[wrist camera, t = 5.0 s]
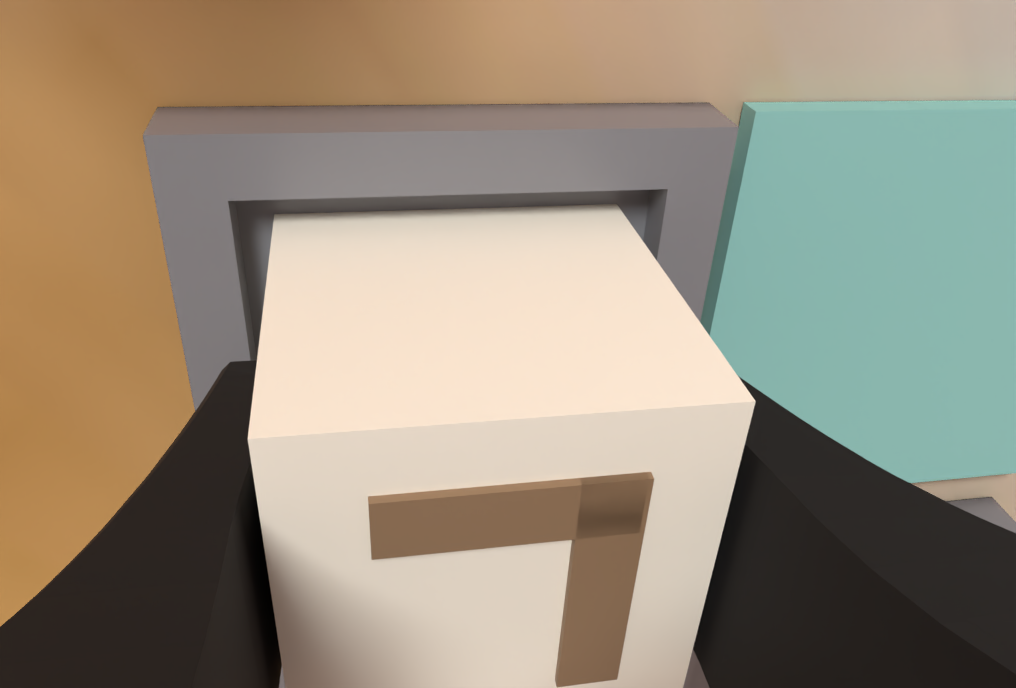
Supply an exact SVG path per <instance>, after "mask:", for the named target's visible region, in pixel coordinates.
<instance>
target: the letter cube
mask: <svg viewBox="0 0 1016 688" xmlns="http://www.w3.org/2000/svg"><path fill="white" fill-rule="evenodd" d="M755 402H756V401H755V400H754V398H753V397H752V395H751V394H750V393H749V391H748V390H747V388H746V387H745V385H744V384H743V383H742V381H741V380H740V378H739V377H738V375H737V374H736V373H735V371H734V370H733V368H732V367H731V366H730V364H729V363H728V361H727V360H726V358H725V357H724V356H723V354H722V353H721V351H720V350H719V349H718V347H717V346H716V344H715V343H714V341H713V340H712V339H711V337H710V336H709V334H708V333H707V331H706V330H705V329H704V327H703V326H702V324H701V323H700V322H699V320H698V319H697V317H696V316H695V314H694V313H693V312H692V310H691V309H690V307H689V306H688V304H687V303H686V302H685V300H684V299H683V297H682V296H681V295H680V293H679V292H678V290H677V289H676V287H675V286H674V285H673V283H672V282H671V280H670V279H669V277H668V276H667V275H666V273H665V272H664V270H663V269H662V268H661V266H660V265H659V263H658V262H657V260H656V259H655V258H654V256H653V255H652V253H651V252H650V251H649V249H648V248H647V246H646V245H645V243H644V242H643V241H642V239H641V238H640V236H639V235H638V233H637V232H636V231H635V229H634V228H633V226H632V225H631V224H630V222H629V221H628V219H627V218H626V216H625V215H624V214H623V212H622V211H621V209H620V208H619V206H618V205H617V204H602V205H568V206H535V207H501V208H467V209H434V210H400V211H366V212H333V213H299V214H274V221H273V229H272V238H271V246H270V255H269V263H268V272H267V280H266V288H265V297H264V305H263V314H262V322H261V331H260V339H259V347H258V356H257V364H256V373H255V381H254V390H253V398H252V406H251V415H250V423H249V432H248V445H249V451H250V458H251V465H252V471H253V478H254V484H255V491H256V497H257V504H258V511H259V517H260V524H261V530H262V537H263V544H264V550H265V557H266V563H267V570H268V576H269V583H270V590H271V596H272V603H273V609H274V616H275V622H276V629H277V636H278V642H279V649H280V655H281V662H282V669H283V675H284V682H285V688H683V686H684V682H685V678H686V674H687V670H688V666H689V662H690V658H691V654H692V650H693V646H694V642H695V639H696V635H697V631H698V627H699V623H700V619H701V615H702V611H703V607H704V603H705V599H706V595H707V591H708V587H709V583H710V579H711V576H712V572H713V568H714V564H715V560H716V556H717V552H718V548H719V544H720V540H721V536H722V532H723V528H724V524H725V520H726V516H727V513H728V509H729V505H730V501H731V497H732V493H733V489H734V485H735V481H736V477H737V473H738V469H739V465H740V461H741V457H742V453H743V449H744V446H745V442H746V438H747V434H748V430H749V426H750V422H751V418H752V414H753V410H754V406H755Z"/></svg>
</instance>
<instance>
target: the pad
mask: <svg viewBox="0 0 1016 688" xmlns="http://www.w3.org/2000/svg"><path fill="white" fill-rule="evenodd" d="M700 323H701V324H702V326H703V327H704V329H705V330H706V331H707V333H708V334H709V336H710V337H711V339H712V340H713V341H714V343H715V344H716V346H717V347H718V349H719V350H720V351H721V353H722V354H723V356H724V357H725V358H726V360H727V361H728V363H729V364H730V366H731V367H732V368H733V370H734V371H735V373H736V374H737V375H738V376H739V377H741V378H742V379H743V380H745V381H746V382H748V383H749V384H750V385H752V386H753V387H755V388H756V389H758V390H759V391H761V392H762V393H763V394H765V395H766V396H768V397H769V398H771V399H772V400H774V401H775V402H777V403H778V404H779V405H781V406H782V407H784V408H785V409H787V410H788V411H790V412H791V413H793V414H794V415H796V416H797V417H799V418H800V419H802V420H803V421H805V422H806V423H808V424H810V425H811V426H813V427H814V428H816V429H817V430H819V431H820V432H822V433H824V434H825V435H827V436H828V437H830V438H832V439H833V440H835V441H837V442H838V443H840V444H842V445H843V446H845V447H847V448H848V449H850V450H852V451H853V452H855V453H857V454H858V455H860V456H862V457H863V458H865V459H866V460H868V461H870V462H872V463H873V464H875V465H877V466H879V467H881V468H882V469H884V470H886V471H888V472H890V473H891V474H893V475H895V476H897V477H899V478H901V479H903V480H905V481H907V482H909V483H917V482H927V481H938V480H948V479H959V478H969V477H979V476H990V475H1000V474H1011V473H1016V100H971V101H848V102H744V103H743V108H742V113H741V118H740V123H739V128H738V134H737V139H736V144H735V149H734V154H733V159H732V164H731V169H730V174H729V179H728V184H727V189H726V194H725V199H724V204H723V209H722V214H721V219H720V225H719V230H718V235H717V240H716V245H715V250H714V255H713V260H712V265H711V270H710V275H709V280H708V285H707V290H706V295H705V300H704V305H703V311H702V316H701V321H700Z"/></svg>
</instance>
